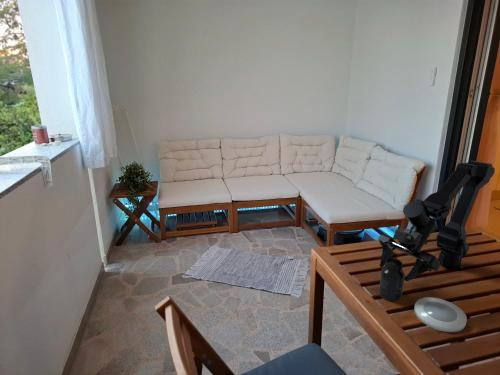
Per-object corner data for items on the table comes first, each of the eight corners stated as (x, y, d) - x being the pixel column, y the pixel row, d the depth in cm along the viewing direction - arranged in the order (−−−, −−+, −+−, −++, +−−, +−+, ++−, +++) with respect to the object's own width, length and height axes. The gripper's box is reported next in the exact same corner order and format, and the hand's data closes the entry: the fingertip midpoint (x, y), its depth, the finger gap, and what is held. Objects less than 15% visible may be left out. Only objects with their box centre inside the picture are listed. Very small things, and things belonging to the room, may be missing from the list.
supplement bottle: (404, 303, 100) (408, 269, 96) (380, 300, 101) (384, 267, 97) (399, 289, 106) (403, 257, 102) (377, 287, 107) (380, 255, 104)
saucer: (445, 299, 100) (446, 295, 100) (477, 329, 88) (478, 324, 87) (405, 303, 99) (406, 298, 99) (431, 334, 87) (432, 329, 86)
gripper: (384, 211, 106) (358, 249, 104) (440, 231, 91) (411, 277, 89) (397, 227, 112) (372, 264, 110) (451, 249, 97) (424, 292, 95)
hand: (392, 273), depth 101 cm, fingers open, 9 cm apart
